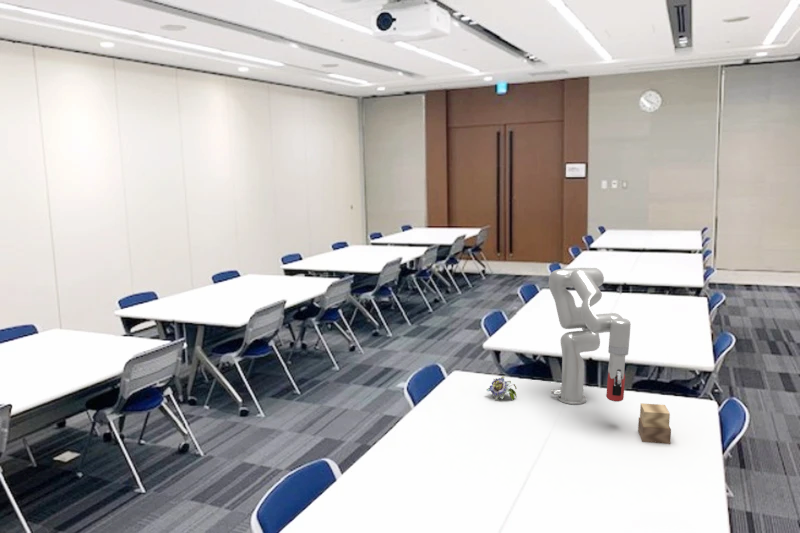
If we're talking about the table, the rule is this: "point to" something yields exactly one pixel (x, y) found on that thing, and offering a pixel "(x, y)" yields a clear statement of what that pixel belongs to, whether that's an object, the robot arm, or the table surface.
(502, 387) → the passion flower
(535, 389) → the table surface
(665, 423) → the oak block
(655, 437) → the walnut block
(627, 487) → the table surface
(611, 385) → the beer can
